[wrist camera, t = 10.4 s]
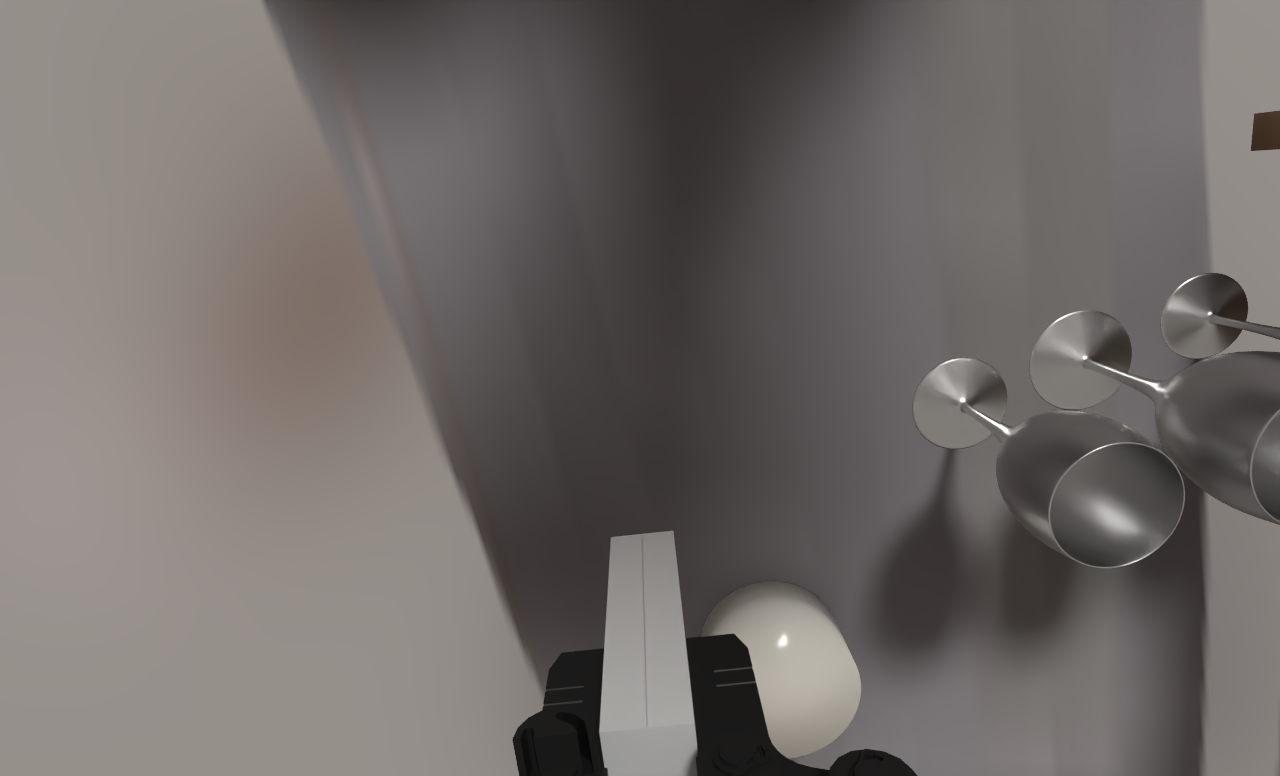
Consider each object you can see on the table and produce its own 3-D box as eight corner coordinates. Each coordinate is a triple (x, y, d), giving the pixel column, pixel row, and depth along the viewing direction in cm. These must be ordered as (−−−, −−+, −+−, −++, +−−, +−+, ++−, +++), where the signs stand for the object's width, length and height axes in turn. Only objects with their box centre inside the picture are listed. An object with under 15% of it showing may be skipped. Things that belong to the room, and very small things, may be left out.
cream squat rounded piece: (692, 588, 38) (699, 634, 34) (834, 573, 38) (858, 617, 34) (705, 709, 40) (713, 766, 36) (841, 695, 39) (863, 750, 36)
